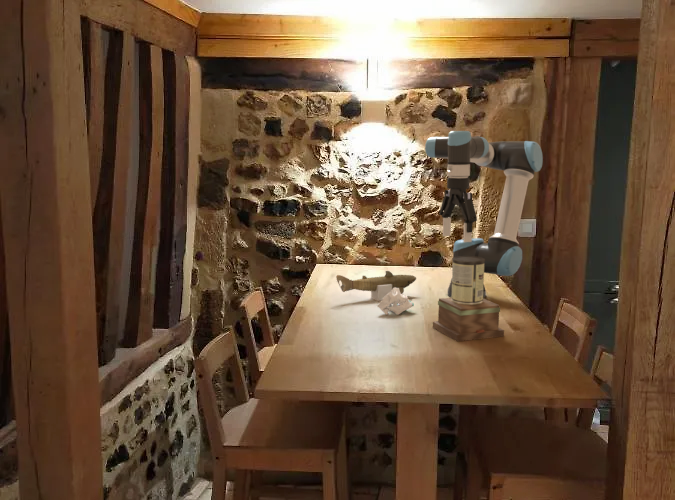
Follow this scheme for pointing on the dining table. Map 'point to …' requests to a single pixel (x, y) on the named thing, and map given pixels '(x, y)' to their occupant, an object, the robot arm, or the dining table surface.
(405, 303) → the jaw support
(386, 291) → the wood carving
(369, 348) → the dining table surface
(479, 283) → the coffee can
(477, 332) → the stand
